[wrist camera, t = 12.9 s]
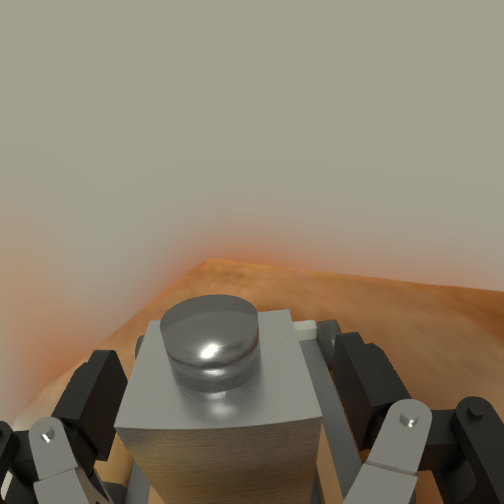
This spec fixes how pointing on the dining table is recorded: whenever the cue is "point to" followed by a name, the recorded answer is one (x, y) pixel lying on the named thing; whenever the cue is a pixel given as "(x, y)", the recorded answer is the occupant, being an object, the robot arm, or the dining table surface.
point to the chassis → (331, 437)
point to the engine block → (222, 406)
